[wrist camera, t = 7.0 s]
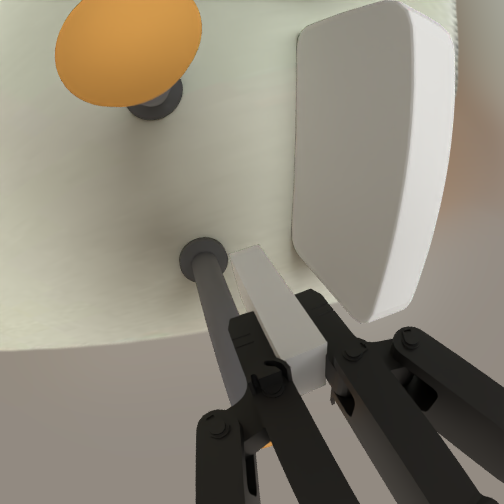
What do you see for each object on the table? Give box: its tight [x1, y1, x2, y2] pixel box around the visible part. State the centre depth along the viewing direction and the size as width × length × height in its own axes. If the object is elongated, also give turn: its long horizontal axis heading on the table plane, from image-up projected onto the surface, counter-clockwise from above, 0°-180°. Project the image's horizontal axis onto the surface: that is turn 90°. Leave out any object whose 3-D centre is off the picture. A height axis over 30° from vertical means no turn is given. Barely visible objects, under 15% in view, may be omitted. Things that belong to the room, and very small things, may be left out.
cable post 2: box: [180, 237, 272, 449], centre depth 26 cm, size 6×6×24 cm
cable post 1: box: [55, 0, 202, 120], centre depth 15 cm, size 6×6×24 cm
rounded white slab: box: [291, 0, 455, 324], centre depth 25 cm, size 29×8×18 cm, turn 0°
